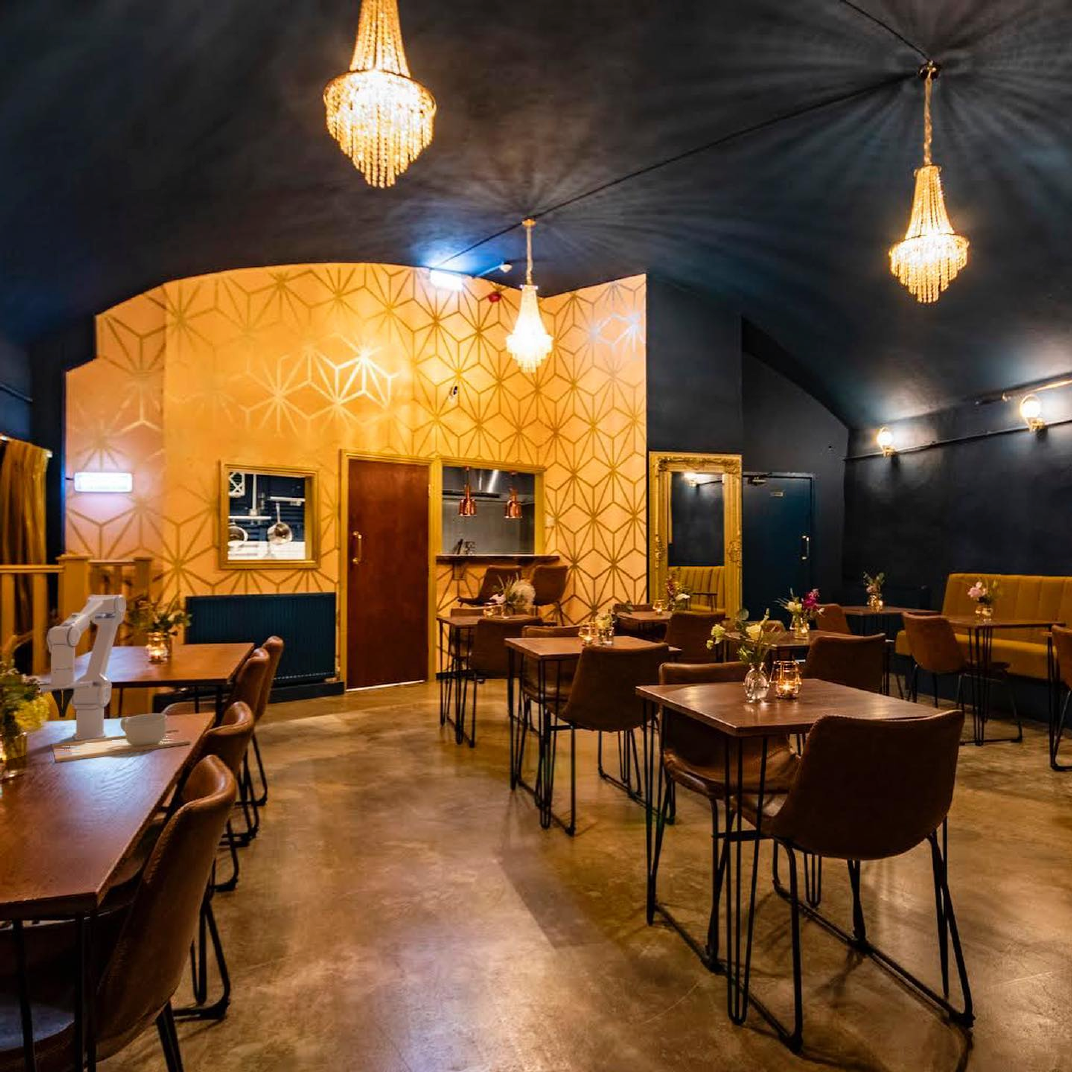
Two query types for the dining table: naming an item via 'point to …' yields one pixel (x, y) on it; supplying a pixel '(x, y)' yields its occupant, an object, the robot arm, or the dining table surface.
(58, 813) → the dining table surface
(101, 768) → the dining table surface
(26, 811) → the dining table surface
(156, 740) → the teacup
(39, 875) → the dining table surface
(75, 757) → the beige flat rectangular board
